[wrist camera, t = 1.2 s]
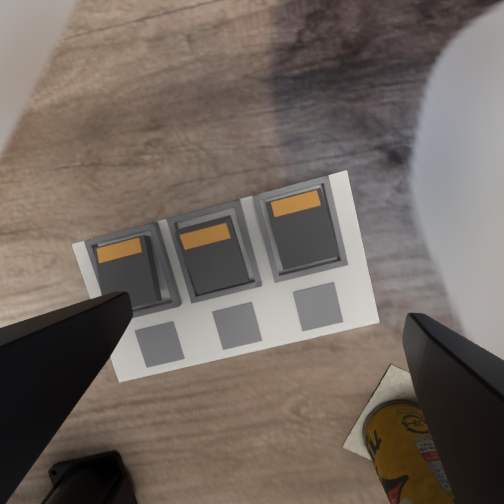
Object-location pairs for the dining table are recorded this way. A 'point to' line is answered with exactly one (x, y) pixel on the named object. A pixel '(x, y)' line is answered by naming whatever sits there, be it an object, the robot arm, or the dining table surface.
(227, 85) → the dining table surface
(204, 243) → the rocker middle
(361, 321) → the power strip
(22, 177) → the dining table surface
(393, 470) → the condiment
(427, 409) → the robot arm
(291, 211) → the rocker
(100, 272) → the rocker
